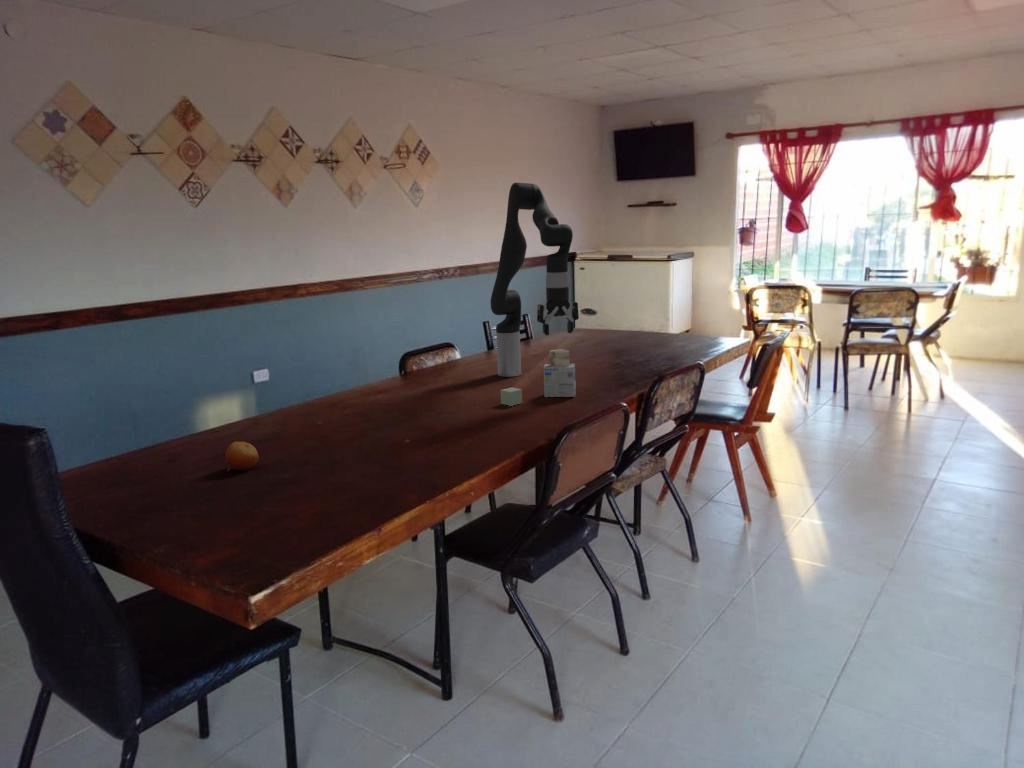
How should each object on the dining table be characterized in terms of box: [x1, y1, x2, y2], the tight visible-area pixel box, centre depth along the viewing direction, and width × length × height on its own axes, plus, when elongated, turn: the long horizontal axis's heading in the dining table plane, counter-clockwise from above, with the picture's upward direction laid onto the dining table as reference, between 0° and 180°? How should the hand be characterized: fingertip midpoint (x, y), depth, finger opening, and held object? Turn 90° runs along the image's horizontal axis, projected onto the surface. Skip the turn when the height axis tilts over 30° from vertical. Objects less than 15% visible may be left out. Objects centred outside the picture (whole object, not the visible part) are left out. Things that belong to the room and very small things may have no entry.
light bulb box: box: [542, 363, 577, 399], centre depth 254 cm, size 11×7×11 cm, turn 84°
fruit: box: [224, 441, 260, 472], centre depth 188 cm, size 8×8×8 cm
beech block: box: [549, 348, 571, 367], centre depth 252 cm, size 5×5×5 cm
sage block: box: [500, 387, 523, 407], centre depth 245 cm, size 5×5×5 cm
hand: (558, 333), depth 251 cm, fingers open, 8 cm apart
